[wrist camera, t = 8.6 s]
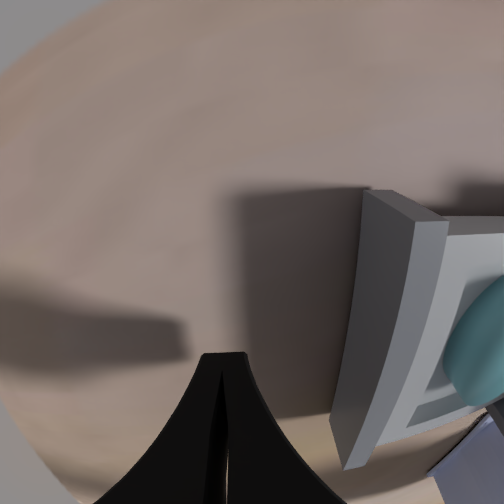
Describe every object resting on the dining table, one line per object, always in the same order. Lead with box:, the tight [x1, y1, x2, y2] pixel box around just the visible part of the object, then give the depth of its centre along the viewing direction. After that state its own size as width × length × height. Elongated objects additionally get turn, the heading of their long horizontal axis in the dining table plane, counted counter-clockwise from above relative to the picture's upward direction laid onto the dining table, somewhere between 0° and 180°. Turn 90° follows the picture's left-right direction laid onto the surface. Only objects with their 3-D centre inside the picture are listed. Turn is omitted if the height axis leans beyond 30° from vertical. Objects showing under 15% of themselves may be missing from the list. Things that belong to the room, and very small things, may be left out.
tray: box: [329, 190, 504, 470], centre depth 10 cm, size 11×12×3 cm
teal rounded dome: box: [443, 276, 504, 406], centre depth 9 cm, size 6×6×2 cm
